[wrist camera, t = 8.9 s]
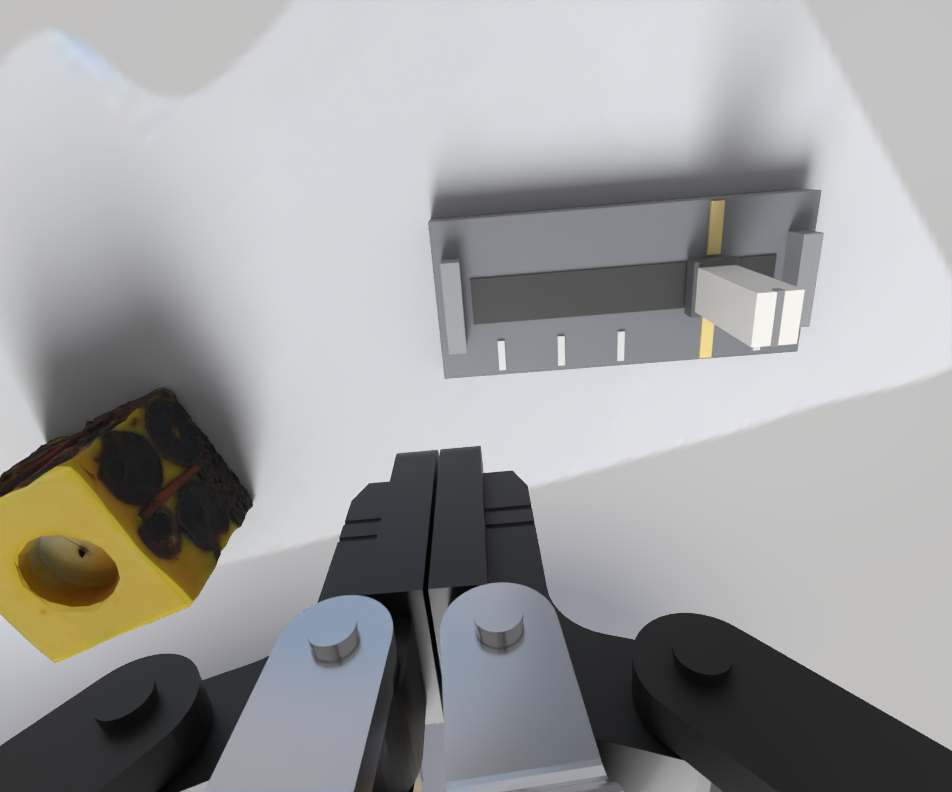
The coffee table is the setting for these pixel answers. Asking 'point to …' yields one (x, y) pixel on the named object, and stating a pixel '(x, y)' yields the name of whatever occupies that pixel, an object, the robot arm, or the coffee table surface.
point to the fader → (743, 301)
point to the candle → (113, 526)
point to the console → (608, 279)
